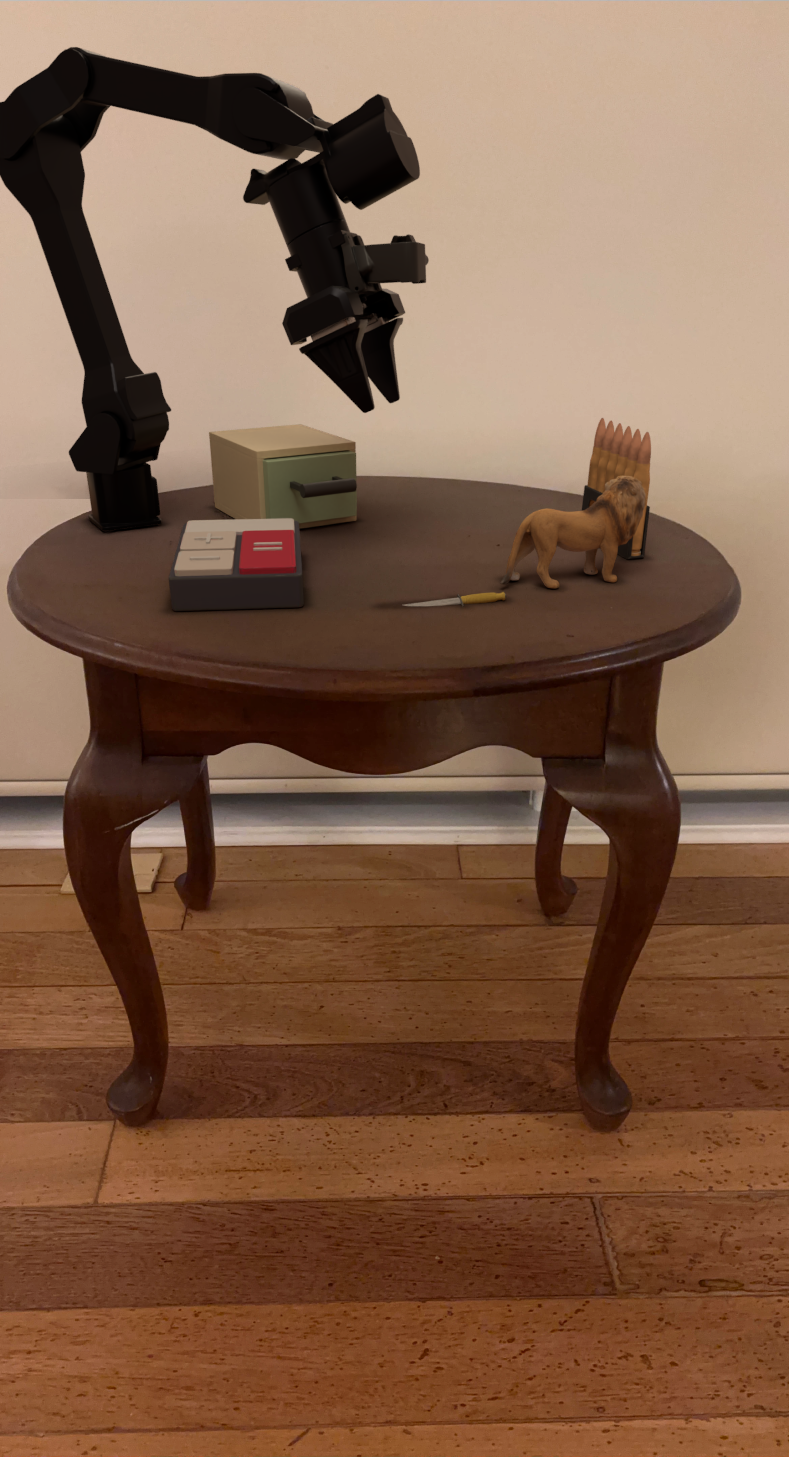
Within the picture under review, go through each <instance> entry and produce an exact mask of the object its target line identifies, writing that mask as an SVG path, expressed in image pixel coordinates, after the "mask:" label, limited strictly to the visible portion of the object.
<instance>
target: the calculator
mask: <svg viewBox="0 0 789 1457" xmlns="http://www.w3.org/2000/svg"><path fill="white" fill-rule="evenodd" d="M300 533H301V532H300V529H299V522H298V521H294V519H292V518H281V519H235V518H234V519H196V520H195V519H194V520H187V522H185V523H183V525H182V528H181V531H180V536H179V538H178V543H177V546H176V549H175V554H174V557H173V561H172V565H171V567H170V571H169V575H168V585H169V596H170V602H171V609H172V611H174V612H193V611H194V612H199V611H200V612H201V611H228V610H229V611H230V610H260V609H262V610H263V609H291V608H292V609H293V608H294V609H295V608H296V609H297V608H302V607H304V603H305V602H304V599H305V598H304V577H303V563H302V562H303V561H302V560H303V559H302V548H301V534H300Z"/></svg>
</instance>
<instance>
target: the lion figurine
mask: <svg viewBox="0 0 789 1457" xmlns="http://www.w3.org/2000/svg"><path fill="white" fill-rule="evenodd" d="M645 505H646V496H645V490H644V488H643V487H642V483H641V482H640V481H639V480H638V479H636V478H634V477H632V476H618V477H617V478H616V479H612V480H610V482H607V483H606V484H605V492H604V493H603V494H602V495H601V496H599V497H598V498H597V500H596V502H594V503H593V504H592V506H590V507H589V508H587V509H585V510H583V511H582V510H577V511H564V510H559V509H554V508H541V509H537V510H535V511H533V512H531V513H530V514H529V515H527V516H526V517H525V518H524V519H523V520H522V522H521V523H520V525H519V527H518V529H517V531H516V532H515V536H514V540H513V543H512V545H511V551H510V555H509V556H508V558H507V565H506V568H505V574H504V575H503V578H502V579H501V581H500V582H499V584H500V585H507V584H509V583H510V581H519V580H520V577H521V574H520V573H519V572H517V571H515V568H516V567H517V565H518V564H519V563H520V562H521V561H522V560H523V559H525V558H526V557H527V556H529V555H530V554H531V553H533V551H534V550H535V552H536V555H537V559H538V561H537V566H536V571H535V572H536V573H537V575H538V577H539V578H540V580H541V581H542V583H543V584H544V586H545V587H546V588H547V589H558V588H559V587H560V583H559V581H558V580H557V579H553V578H551V576H550V572H549V569H550V564H551V563H552V560H553V559H554V556H555V554H556V551H557V547H559V548H560V549H562V550H565V551H568V552H571V553H572V552H573V553H581V552H582V553H583V552H585V560H584V565H583V572H584V573H585V574H586V575H589V576H594V575H597V574H598V572H599V569H598V568H597V567H596V558H597V554H598V550H599V549H600V551H601V553H602V556H603V559H602V561H603V563H602V567H601V575H602V579H603V581H605V582H608V583H617V581H618V577H617V575H616V574H614V573H613V569H614V566H615V563H616V559H617V556H618V554H617V552H618V546H620V545H623V544H626V543H627V542H628V541H629V540H630V539H631V538H632V537H633V535H635V533H636V530H637V527H638V525H639V522H640V520H641V518H642V516H643V510H644V507H645Z"/></svg>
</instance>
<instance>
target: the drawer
mask: <svg viewBox="0 0 789 1457" xmlns="http://www.w3.org/2000/svg"><path fill="white" fill-rule="evenodd" d="M263 473H264V491H265V508H266V519H281V518H292V519H294V521H298V522H299V524H300V523H307V522H314V521H321V520H329V519H336V518H343V517H350V516H356V517H358V516H357V515H358V501H357V499H358V498H357V497H358V496H357V494H358V490H357V488H358V484H357V452H356V453H355V452H352V451H346V452H339V451H335V452H325V453H315V454H305V455H295V456H286V457H276V458H266V459H264V460H263Z"/></svg>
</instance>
